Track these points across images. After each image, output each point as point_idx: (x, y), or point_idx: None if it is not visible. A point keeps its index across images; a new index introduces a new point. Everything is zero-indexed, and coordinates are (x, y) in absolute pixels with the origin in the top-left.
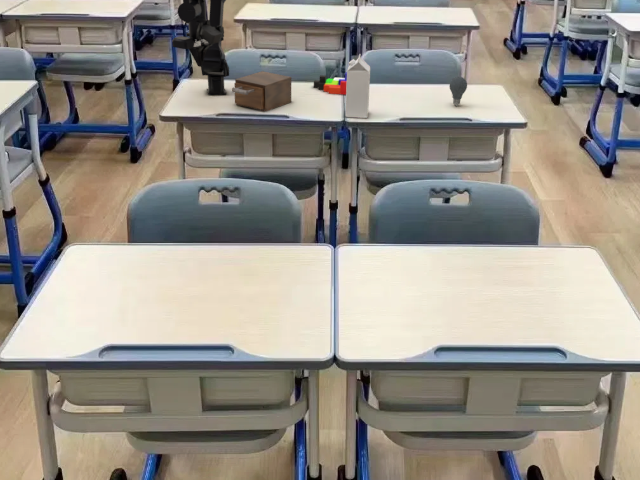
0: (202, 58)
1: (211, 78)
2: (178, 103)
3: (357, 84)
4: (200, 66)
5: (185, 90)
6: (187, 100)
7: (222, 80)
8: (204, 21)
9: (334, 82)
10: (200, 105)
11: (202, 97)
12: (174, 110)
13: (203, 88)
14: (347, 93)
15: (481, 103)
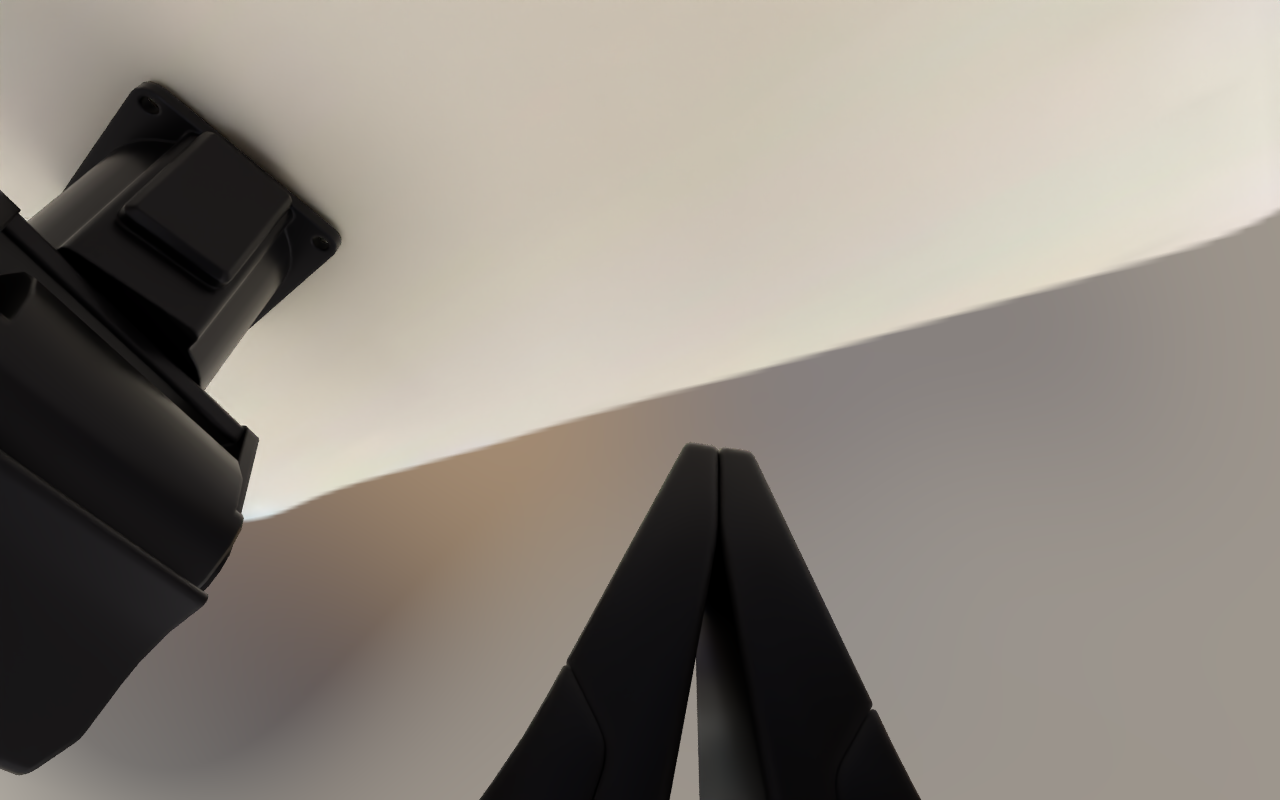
0: (689, 617)
1: (207, 326)
2: (773, 318)
3: None
4: (744, 450)
5: (401, 442)
6: (633, 302)
7: (64, 218)
8: None
9: None
10: (727, 85)
11: (447, 240)
12: (1052, 227)
13: (236, 370)
14: None
15: None
